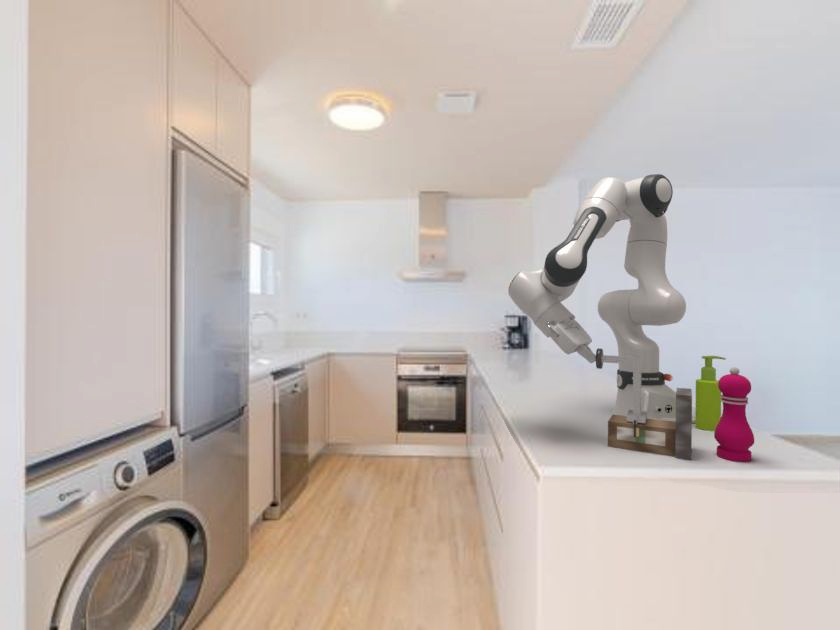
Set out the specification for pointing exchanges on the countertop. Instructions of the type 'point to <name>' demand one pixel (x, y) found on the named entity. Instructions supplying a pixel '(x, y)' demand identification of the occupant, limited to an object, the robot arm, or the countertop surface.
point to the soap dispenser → (708, 397)
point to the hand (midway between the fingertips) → (594, 361)
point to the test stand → (657, 431)
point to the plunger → (636, 413)
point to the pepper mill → (734, 418)
